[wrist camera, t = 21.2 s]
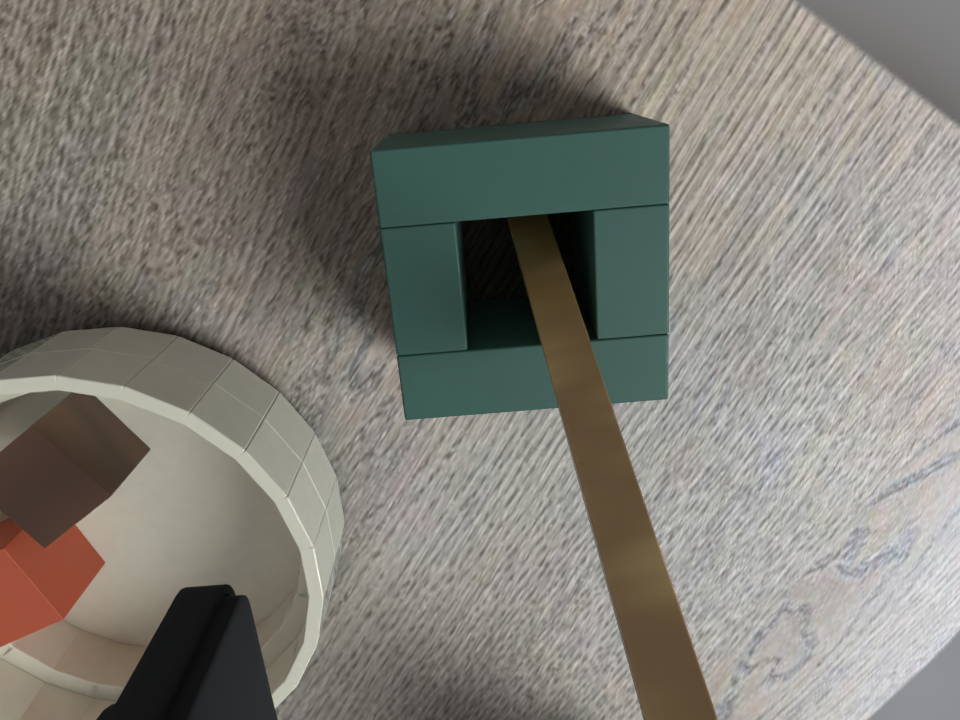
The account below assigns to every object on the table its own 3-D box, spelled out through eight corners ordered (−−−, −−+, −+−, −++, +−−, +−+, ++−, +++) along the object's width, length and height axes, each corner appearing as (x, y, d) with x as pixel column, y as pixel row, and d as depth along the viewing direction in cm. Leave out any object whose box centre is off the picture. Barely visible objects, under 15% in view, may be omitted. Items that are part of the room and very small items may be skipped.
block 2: (-17, 529, 35) (-75, 584, 32) (53, 496, 35) (3, 548, 31) (37, 593, 37) (-12, 653, 33) (106, 562, 36) (63, 619, 32)
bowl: (-111, 341, 33) (-232, 398, 27) (311, 306, 32) (277, 356, 27) (17, 673, 39) (-58, 775, 34) (369, 648, 39) (352, 746, 33)
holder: (388, 134, 30) (369, 150, 24) (632, 112, 30) (670, 124, 24) (416, 360, 33) (405, 420, 28) (635, 342, 33) (668, 399, 27)
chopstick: (538, 189, 30) (718, 720, 16) (545, 219, 31) (718, 740, 17) (502, 199, 30) (649, 735, 16) (509, 228, 31) (653, 755, 17)
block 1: (21, 435, 34) (-36, 481, 30) (82, 383, 33) (32, 424, 29) (90, 497, 35) (44, 549, 31) (151, 448, 34) (111, 496, 30)
